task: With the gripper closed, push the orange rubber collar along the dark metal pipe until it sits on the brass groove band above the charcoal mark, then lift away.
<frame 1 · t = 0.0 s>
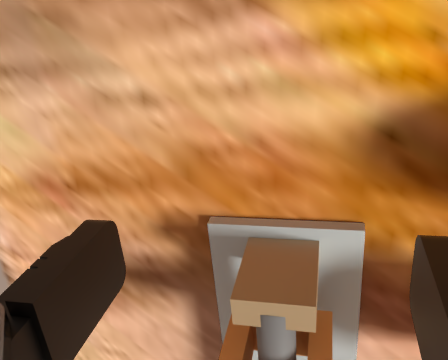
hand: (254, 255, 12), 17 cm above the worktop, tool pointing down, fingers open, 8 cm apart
pipe stand: (288, 340, 36), on the worktop
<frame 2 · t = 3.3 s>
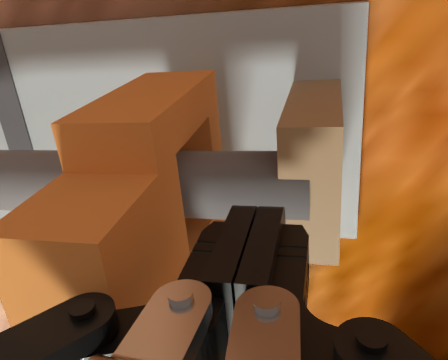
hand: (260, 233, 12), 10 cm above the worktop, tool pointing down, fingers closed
collar: (144, 205, 15), point 8 cm above the worktop, slide at 0.5 cm, touching gripper
pipe stand: (125, 129, 23), on the worktop
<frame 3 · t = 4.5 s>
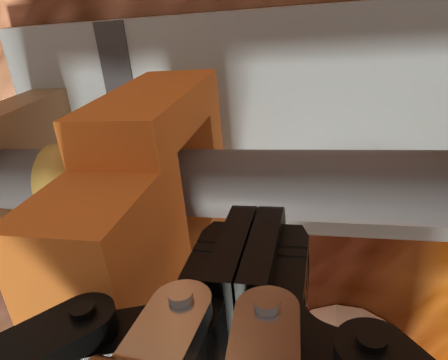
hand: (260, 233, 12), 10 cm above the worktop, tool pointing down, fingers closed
collar: (145, 204, 15), point 8 cm above the worktop, slide at 7.1 cm, touching gripper
pipe stand: (247, 127, 21), on the worktop
white cup: (342, 344, 26), on the worktop
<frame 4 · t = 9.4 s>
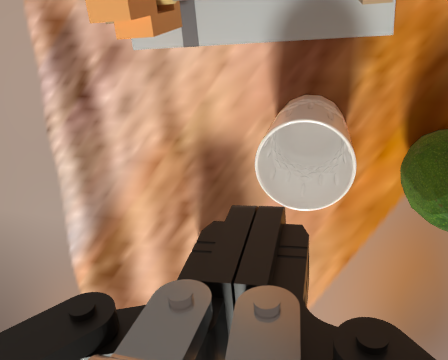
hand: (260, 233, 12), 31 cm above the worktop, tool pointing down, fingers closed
avocado: (437, 155, 41), on the worktop
white cup: (310, 126, 43), on the worktop
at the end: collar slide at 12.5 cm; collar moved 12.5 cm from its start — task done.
